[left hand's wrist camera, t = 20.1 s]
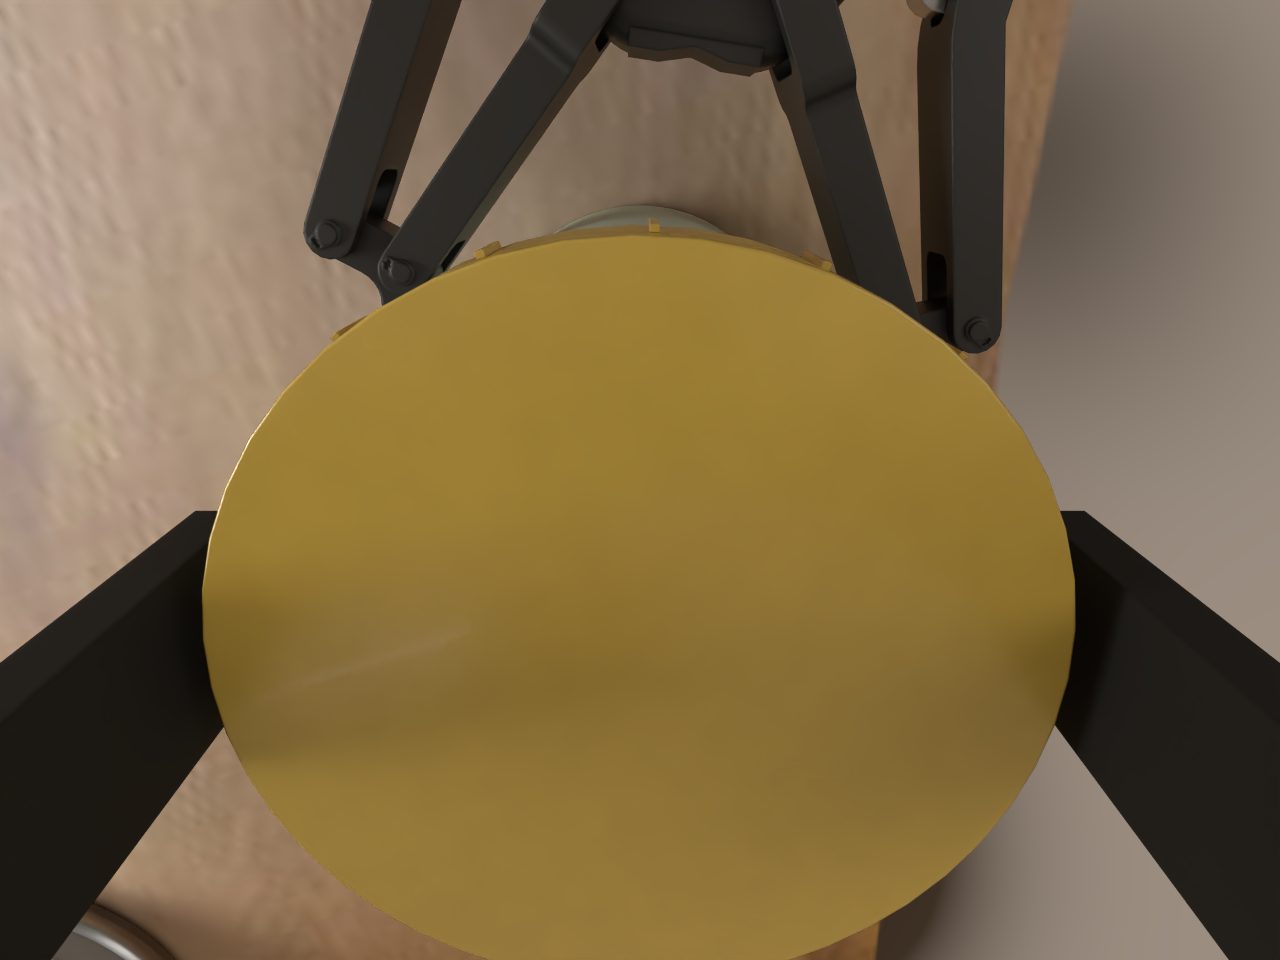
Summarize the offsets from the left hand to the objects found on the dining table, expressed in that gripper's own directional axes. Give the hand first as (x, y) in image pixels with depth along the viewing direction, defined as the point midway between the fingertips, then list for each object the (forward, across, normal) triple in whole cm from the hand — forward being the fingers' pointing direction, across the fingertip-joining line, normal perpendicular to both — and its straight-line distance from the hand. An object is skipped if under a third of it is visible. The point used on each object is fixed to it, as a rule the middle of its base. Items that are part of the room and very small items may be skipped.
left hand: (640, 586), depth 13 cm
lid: (-2, 0, 0) cm, 2 cm away
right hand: (+10, -1, -4) cm, 11 cm away
